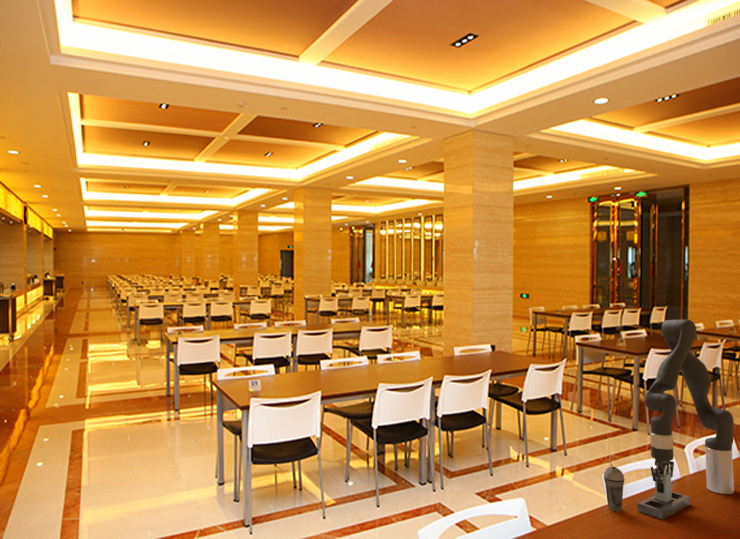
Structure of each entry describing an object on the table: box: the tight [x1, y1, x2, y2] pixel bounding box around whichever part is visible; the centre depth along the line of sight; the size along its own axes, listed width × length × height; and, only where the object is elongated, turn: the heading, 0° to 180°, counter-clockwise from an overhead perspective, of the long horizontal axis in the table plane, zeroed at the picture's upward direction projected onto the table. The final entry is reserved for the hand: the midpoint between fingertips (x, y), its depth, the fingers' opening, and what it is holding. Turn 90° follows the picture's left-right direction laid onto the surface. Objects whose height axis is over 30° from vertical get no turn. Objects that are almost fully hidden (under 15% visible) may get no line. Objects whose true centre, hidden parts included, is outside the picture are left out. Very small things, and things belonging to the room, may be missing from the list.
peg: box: [654, 473, 673, 503], centre depth 193 cm, size 4×4×10 cm
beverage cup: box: [603, 454, 625, 513], centre depth 192 cm, size 7×7×20 cm
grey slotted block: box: [637, 490, 691, 520], centre depth 193 cm, size 22×9×3 cm, turn 125°
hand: (663, 490), depth 193 cm, fingers closed on peg, 4 cm apart
